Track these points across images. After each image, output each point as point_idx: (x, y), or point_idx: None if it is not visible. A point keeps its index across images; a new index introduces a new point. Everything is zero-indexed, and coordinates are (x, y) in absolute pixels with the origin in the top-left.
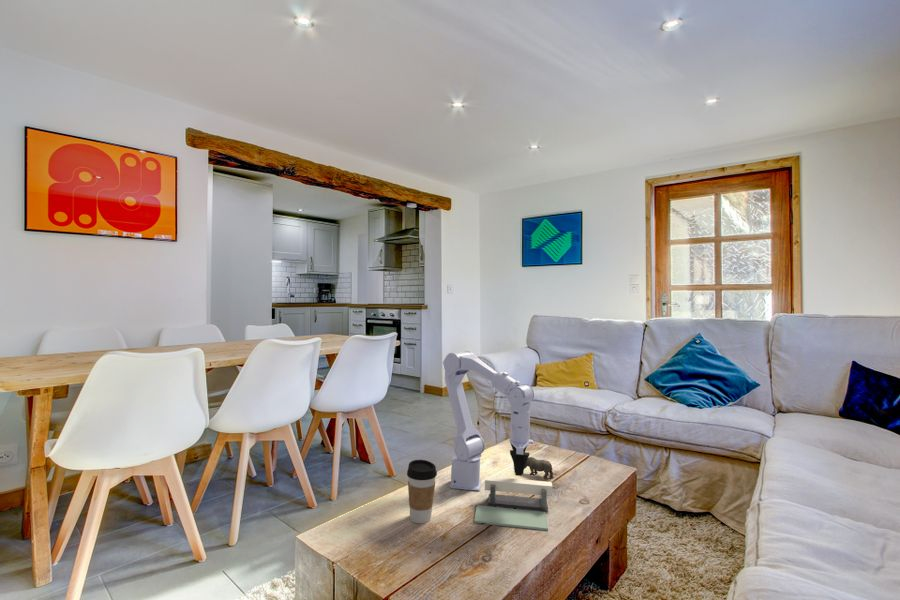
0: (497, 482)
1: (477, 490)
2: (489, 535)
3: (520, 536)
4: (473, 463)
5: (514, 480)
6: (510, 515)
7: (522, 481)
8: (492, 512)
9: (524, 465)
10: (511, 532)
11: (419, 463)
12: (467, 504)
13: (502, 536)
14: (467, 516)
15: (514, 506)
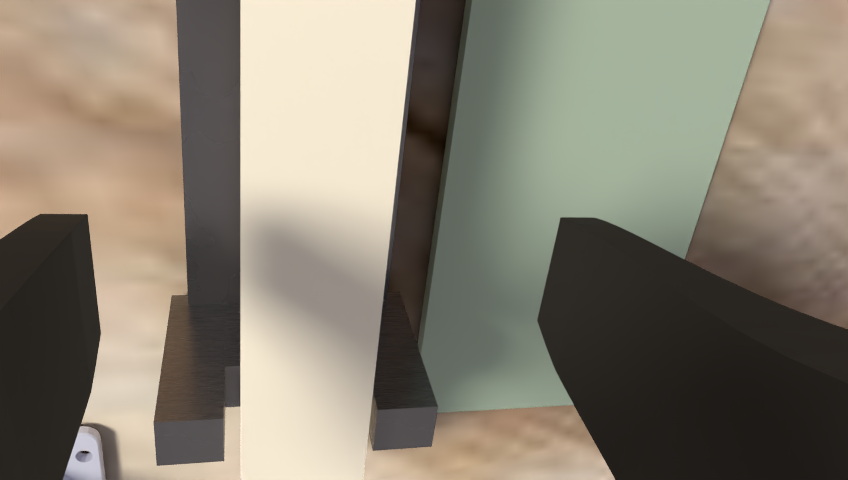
0: (365, 409)
1: (99, 440)
2: (788, 291)
3: (843, 86)
4: None
5: (307, 233)
6: (575, 161)
7: (326, 121)
8: (525, 300)
9: (763, 304)
10: (781, 151)
11: None
12: (370, 462)
13: (816, 212)
14: (547, 435)
15: (405, 120)
